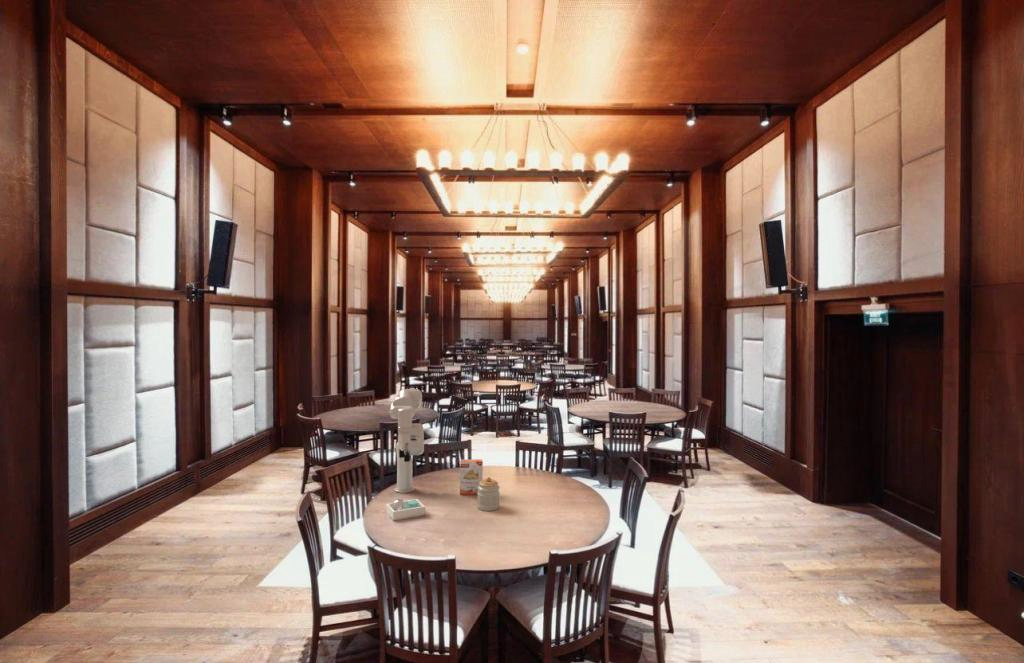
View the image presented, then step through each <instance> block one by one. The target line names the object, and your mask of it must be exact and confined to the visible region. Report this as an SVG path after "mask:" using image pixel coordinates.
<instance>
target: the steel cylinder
mask: <svg viewBox="0 0 1024 663" xmlns="http://www.w3.org/2000/svg"><path fill="white" fill-rule="evenodd" d="M403 501H404V499H400V498H397V499H394V500H393V503H394V511H398V510H403Z"/></svg>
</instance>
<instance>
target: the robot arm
mask: <svg viewBox="0 0 1024 663" xmlns="http://www.w3.org/2000/svg"><path fill="white" fill-rule="evenodd" d="M422 405H423V394H422V391H421V390H420V389H418V388H405V389H402V390H400V391H399V393H398V395H397V397H395V398H394V400H393V402H391V404H390V406H389V407H390V408H389V417H390V418H391V419H393V420H397V432H398V435H397V442H396V444H395V451H396V471H397V472H396V487H394V492H396V493H400V494H402V493H404V494H405V493H411V492H414V491H415V489H416V488H415V486H414V485H413V460H412V458H411V456H420V455H422V454H423V453H424V452H425V443H424V442H425V436H424V434H425V433H424V432H425V431H424V430H425V429H424V426H423V424H422V423H413V418H414V416H415V414H416V410H417V409H418V410H419V409H421V408H422Z"/></svg>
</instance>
